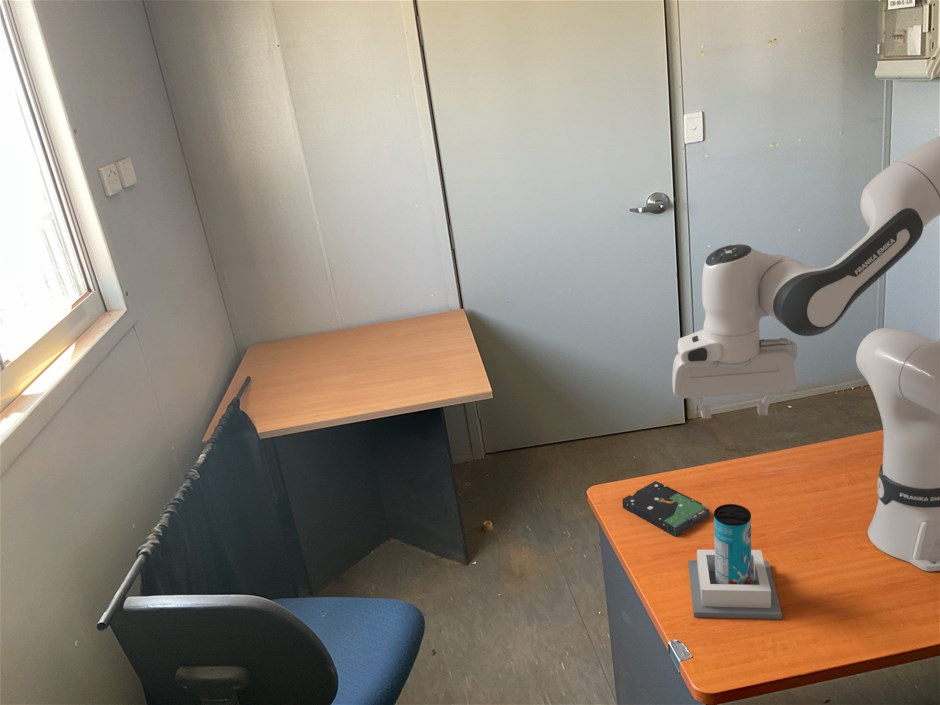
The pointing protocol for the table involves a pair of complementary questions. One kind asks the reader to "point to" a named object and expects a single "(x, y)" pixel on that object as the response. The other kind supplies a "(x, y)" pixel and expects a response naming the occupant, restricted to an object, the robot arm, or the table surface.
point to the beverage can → (732, 545)
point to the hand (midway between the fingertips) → (734, 415)
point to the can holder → (733, 590)
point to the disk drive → (666, 508)
